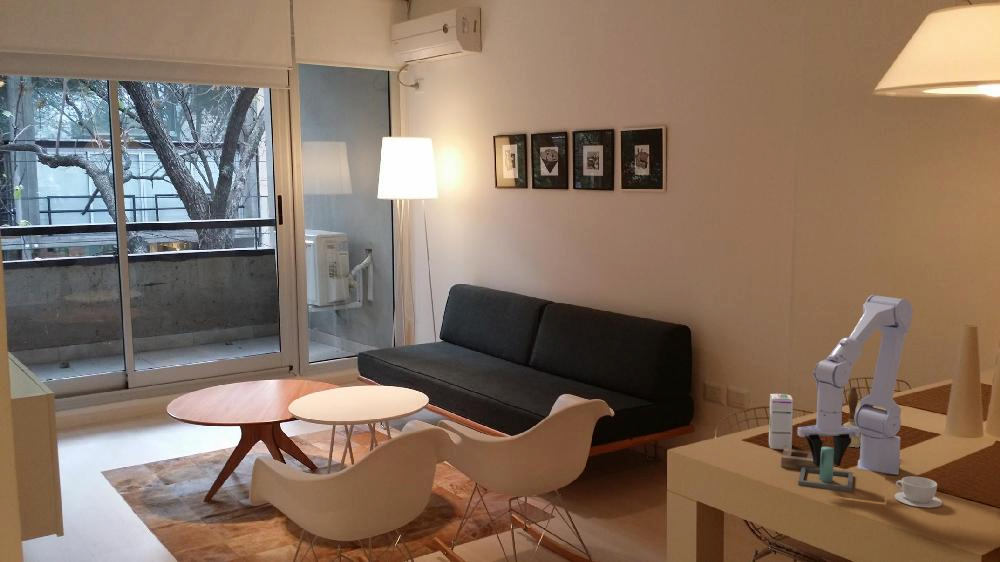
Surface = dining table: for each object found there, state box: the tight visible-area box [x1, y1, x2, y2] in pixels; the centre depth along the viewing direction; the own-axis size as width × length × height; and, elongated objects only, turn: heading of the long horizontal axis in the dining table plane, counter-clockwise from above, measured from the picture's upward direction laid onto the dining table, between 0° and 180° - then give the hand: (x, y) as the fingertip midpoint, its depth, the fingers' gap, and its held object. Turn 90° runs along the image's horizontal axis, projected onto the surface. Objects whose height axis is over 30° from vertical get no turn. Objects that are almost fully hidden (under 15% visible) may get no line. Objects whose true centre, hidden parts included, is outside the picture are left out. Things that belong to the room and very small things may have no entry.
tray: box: [797, 466, 854, 493], centre depth 216 cm, size 12×12×1 cm
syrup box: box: [768, 393, 794, 450], centre depth 242 cm, size 6×6×14 cm
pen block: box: [780, 448, 816, 470], centre depth 228 cm, size 8×8×3 cm
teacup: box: [894, 475, 943, 508], centre depth 204 cm, size 10×10×5 cm
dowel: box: [818, 446, 835, 483], centre depth 216 cm, size 3×3×8 cm
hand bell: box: [842, 386, 861, 449], centre depth 246 cm, size 8×8×16 cm
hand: (826, 464), depth 216 cm, fingers open, 4 cm apart
